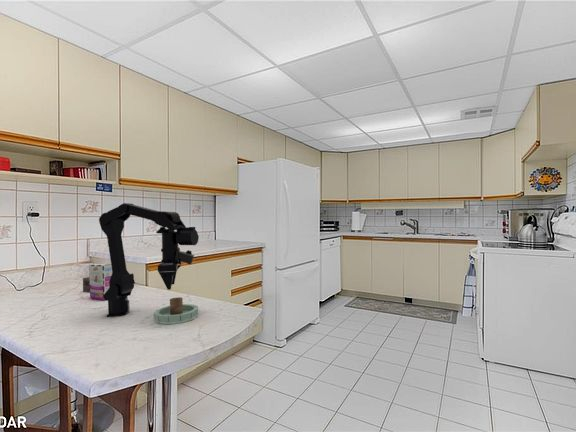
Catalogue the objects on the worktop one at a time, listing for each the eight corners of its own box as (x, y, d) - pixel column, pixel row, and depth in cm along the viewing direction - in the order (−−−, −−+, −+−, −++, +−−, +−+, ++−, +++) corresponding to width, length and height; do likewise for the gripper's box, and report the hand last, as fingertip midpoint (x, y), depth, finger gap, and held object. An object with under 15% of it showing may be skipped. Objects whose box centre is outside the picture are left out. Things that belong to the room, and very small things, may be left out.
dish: (151, 326, 108) (150, 318, 108) (158, 313, 122) (158, 306, 122) (197, 321, 111) (196, 313, 111) (198, 309, 126) (198, 302, 126)
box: (82, 292, 166) (82, 278, 166) (92, 289, 171) (92, 276, 171) (91, 292, 164) (91, 278, 164) (101, 290, 170) (101, 276, 170)
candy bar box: (114, 298, 149) (113, 263, 149) (104, 301, 145) (102, 265, 145) (99, 296, 155) (98, 262, 155) (89, 299, 150) (88, 264, 150)
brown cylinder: (169, 317, 114) (169, 301, 114) (171, 314, 118) (170, 298, 118) (182, 316, 115) (181, 299, 115) (183, 312, 119) (183, 297, 119)
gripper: (190, 246, 112) (191, 291, 112) (194, 242, 130) (195, 280, 130) (156, 248, 109) (157, 293, 109) (165, 243, 128) (166, 282, 128)
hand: (171, 286), depth 119 cm, fingers open, 9 cm apart
